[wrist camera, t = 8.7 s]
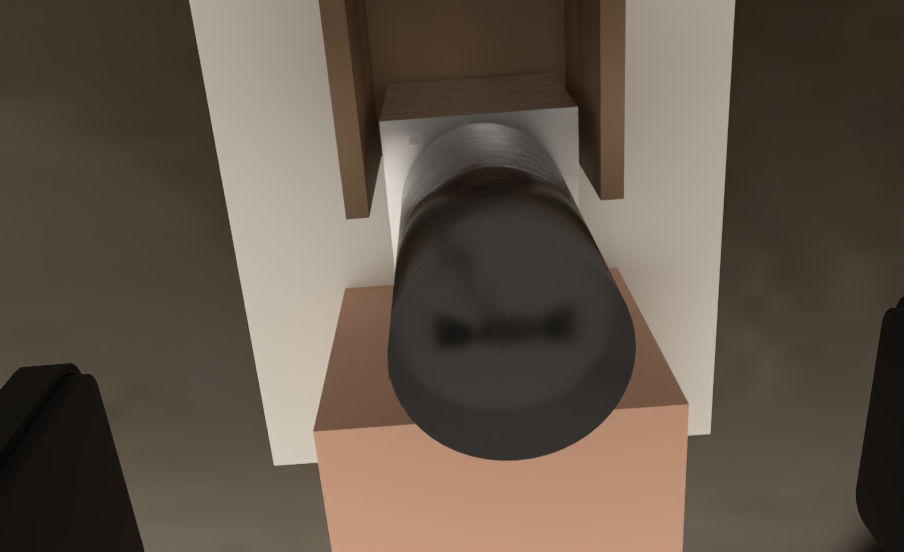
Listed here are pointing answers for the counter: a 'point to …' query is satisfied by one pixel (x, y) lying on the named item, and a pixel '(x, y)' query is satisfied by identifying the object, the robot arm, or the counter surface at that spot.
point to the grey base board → (369, 239)
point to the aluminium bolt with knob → (497, 269)
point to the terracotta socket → (494, 461)
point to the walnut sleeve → (473, 70)
